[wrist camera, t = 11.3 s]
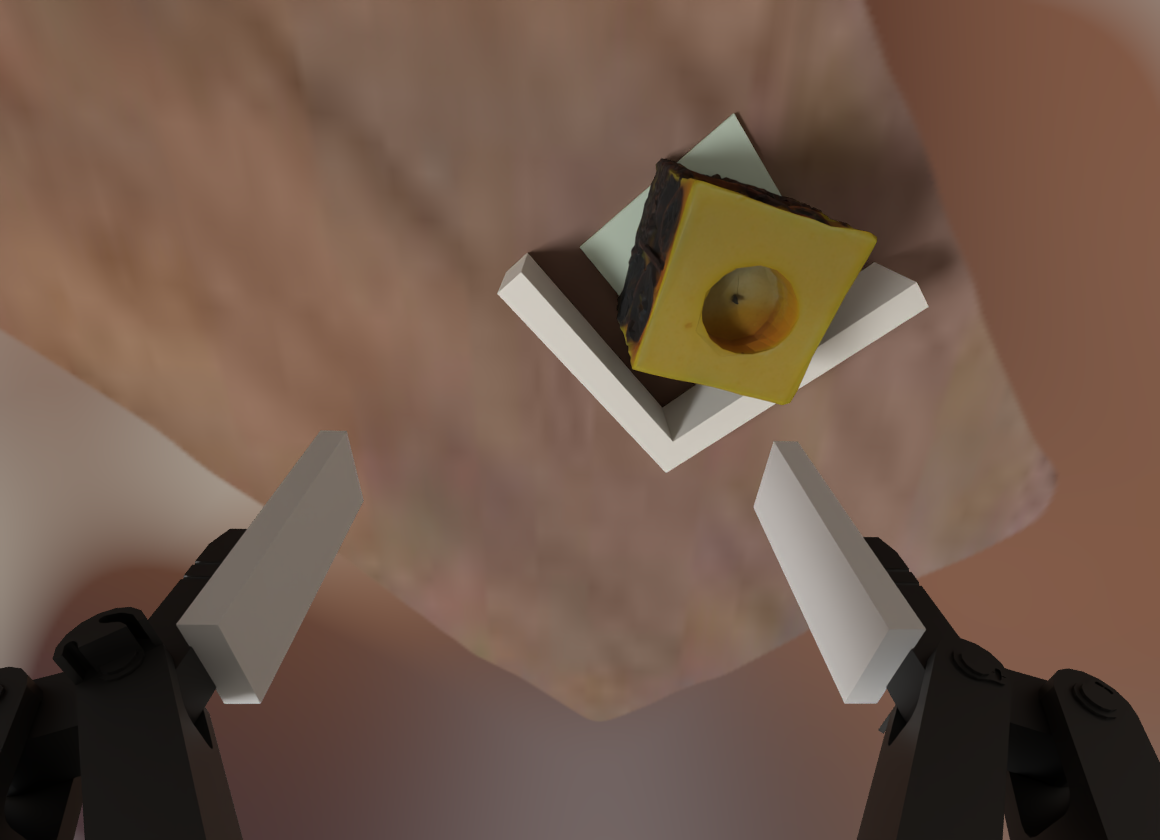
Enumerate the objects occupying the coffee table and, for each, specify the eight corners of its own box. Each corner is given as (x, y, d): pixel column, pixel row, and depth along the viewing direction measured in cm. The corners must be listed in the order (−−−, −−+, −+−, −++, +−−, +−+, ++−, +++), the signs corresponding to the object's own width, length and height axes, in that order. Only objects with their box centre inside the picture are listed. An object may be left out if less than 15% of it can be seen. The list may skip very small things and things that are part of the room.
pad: (580, 246, 34) (580, 247, 34) (732, 113, 30) (734, 113, 30) (679, 368, 39) (680, 370, 39) (821, 267, 35) (823, 268, 35)
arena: (506, 271, 35) (497, 293, 31) (760, 42, 28) (793, 29, 24) (656, 436, 42) (666, 472, 38) (885, 283, 36) (928, 306, 31)
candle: (657, 155, 31) (690, 170, 22) (805, 199, 32) (888, 229, 24) (611, 310, 36) (623, 370, 28) (740, 342, 38) (790, 408, 29)
